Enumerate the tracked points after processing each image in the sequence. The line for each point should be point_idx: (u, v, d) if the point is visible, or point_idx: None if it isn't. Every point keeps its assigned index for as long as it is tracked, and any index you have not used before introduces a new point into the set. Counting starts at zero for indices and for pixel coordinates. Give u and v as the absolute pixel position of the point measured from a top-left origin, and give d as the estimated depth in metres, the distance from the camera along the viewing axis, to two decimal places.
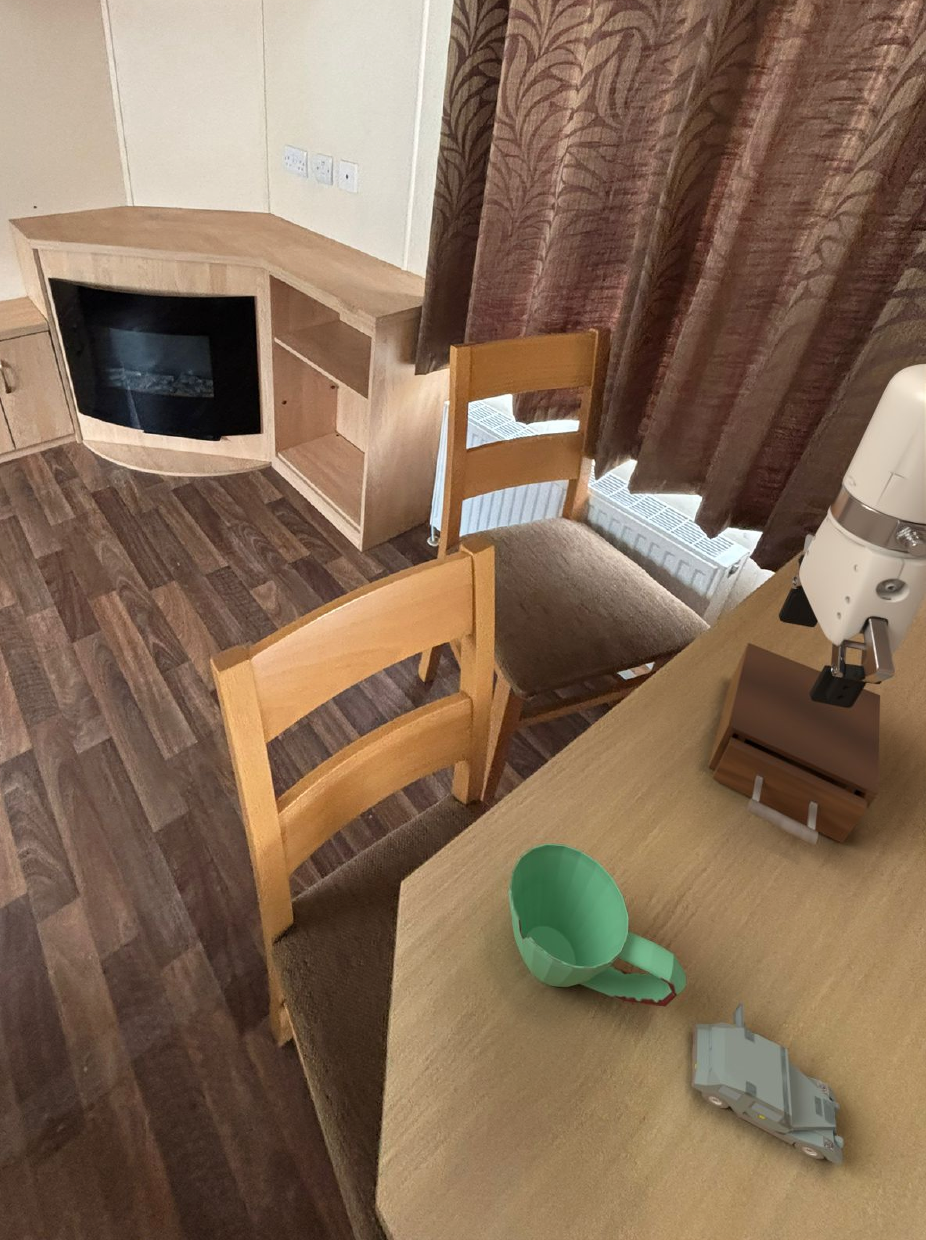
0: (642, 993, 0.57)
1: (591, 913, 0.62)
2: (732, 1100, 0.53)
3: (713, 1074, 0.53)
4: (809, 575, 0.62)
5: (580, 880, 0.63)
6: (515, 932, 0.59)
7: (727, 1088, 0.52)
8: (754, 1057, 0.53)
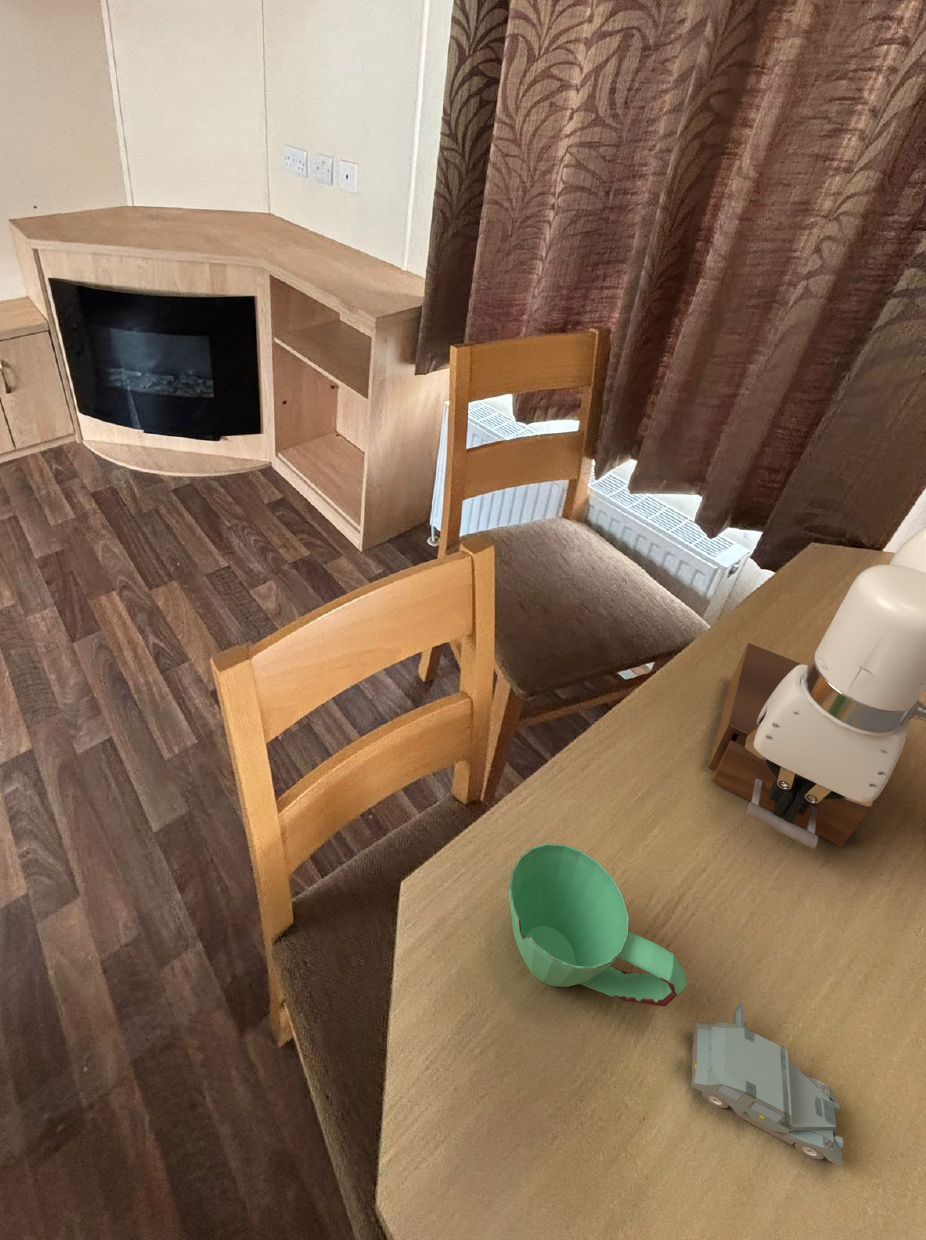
0: (642, 993, 0.57)
1: (591, 913, 0.62)
2: (732, 1100, 0.53)
3: (713, 1074, 0.53)
4: (791, 757, 0.65)
5: (580, 880, 0.63)
6: (515, 932, 0.59)
7: (727, 1088, 0.52)
8: (754, 1057, 0.53)
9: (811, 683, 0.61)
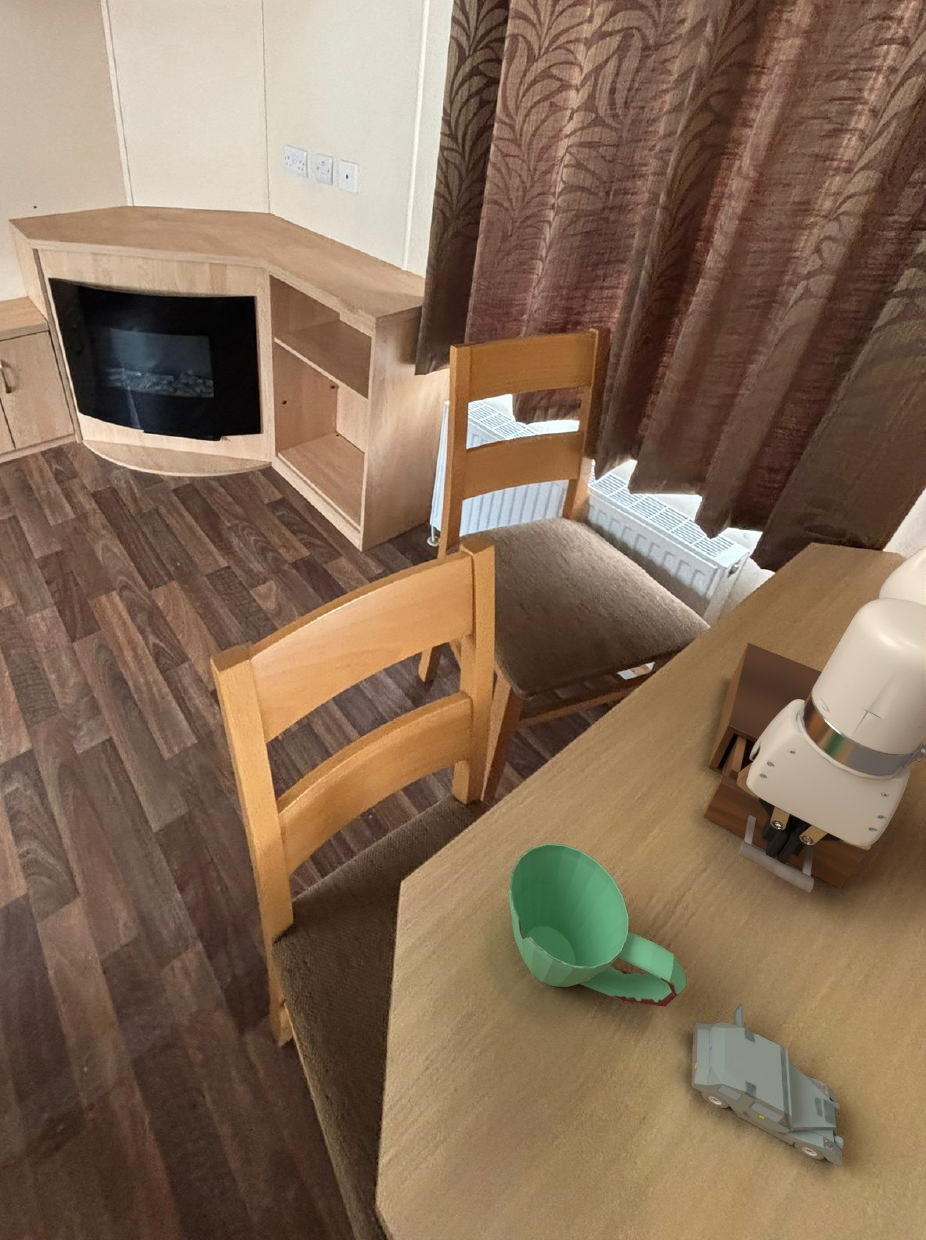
0: (642, 993, 0.57)
1: (591, 913, 0.62)
2: (732, 1100, 0.53)
3: (713, 1074, 0.53)
4: (786, 797, 0.61)
5: (580, 880, 0.63)
6: (515, 932, 0.59)
7: (727, 1088, 0.52)
8: (754, 1057, 0.53)
9: (808, 721, 0.58)
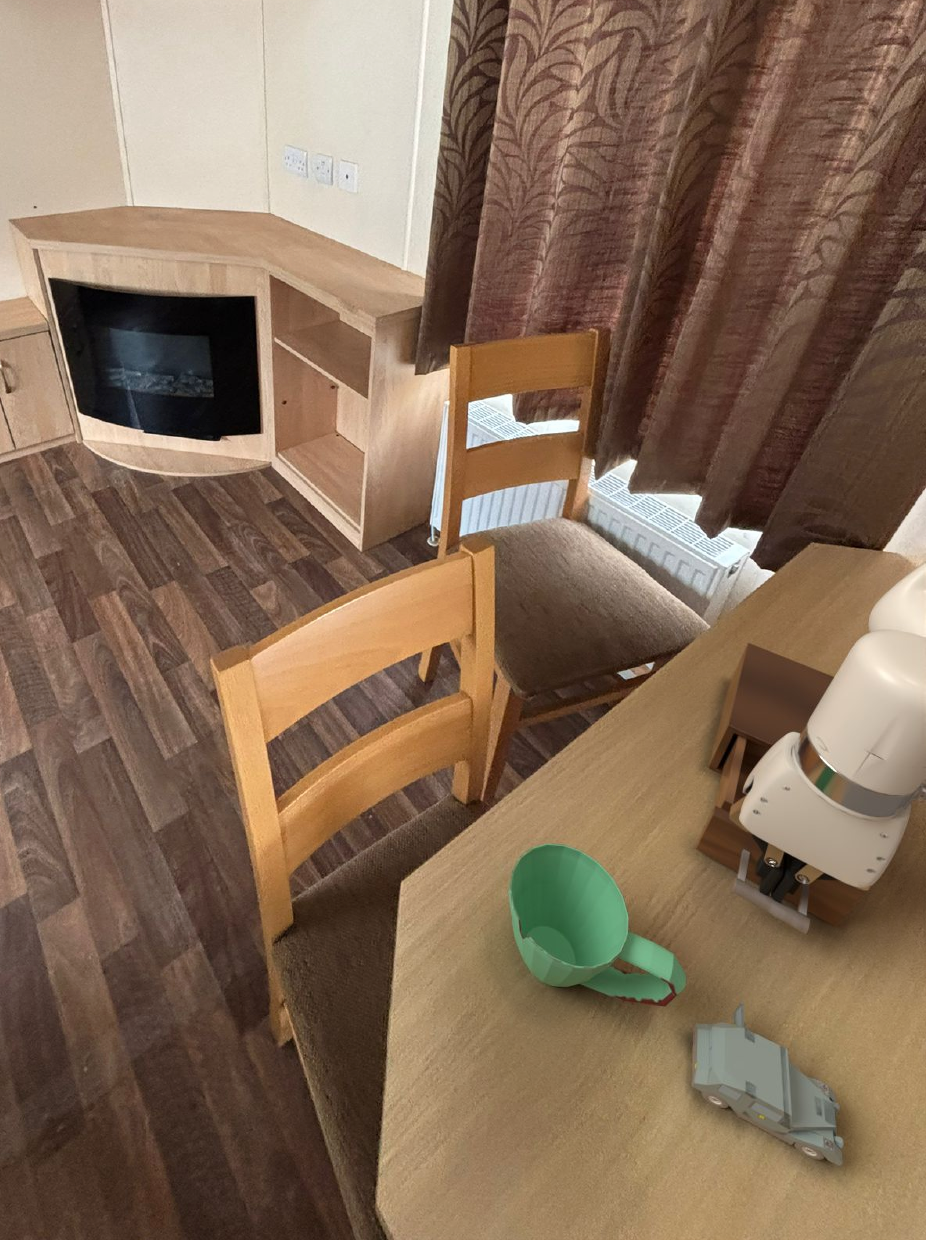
0: (642, 993, 0.57)
1: (591, 913, 0.62)
2: (732, 1100, 0.53)
3: (713, 1074, 0.53)
4: (780, 835, 0.59)
5: (580, 880, 0.63)
6: (515, 932, 0.59)
7: (727, 1088, 0.52)
8: (754, 1057, 0.53)
9: (803, 757, 0.55)
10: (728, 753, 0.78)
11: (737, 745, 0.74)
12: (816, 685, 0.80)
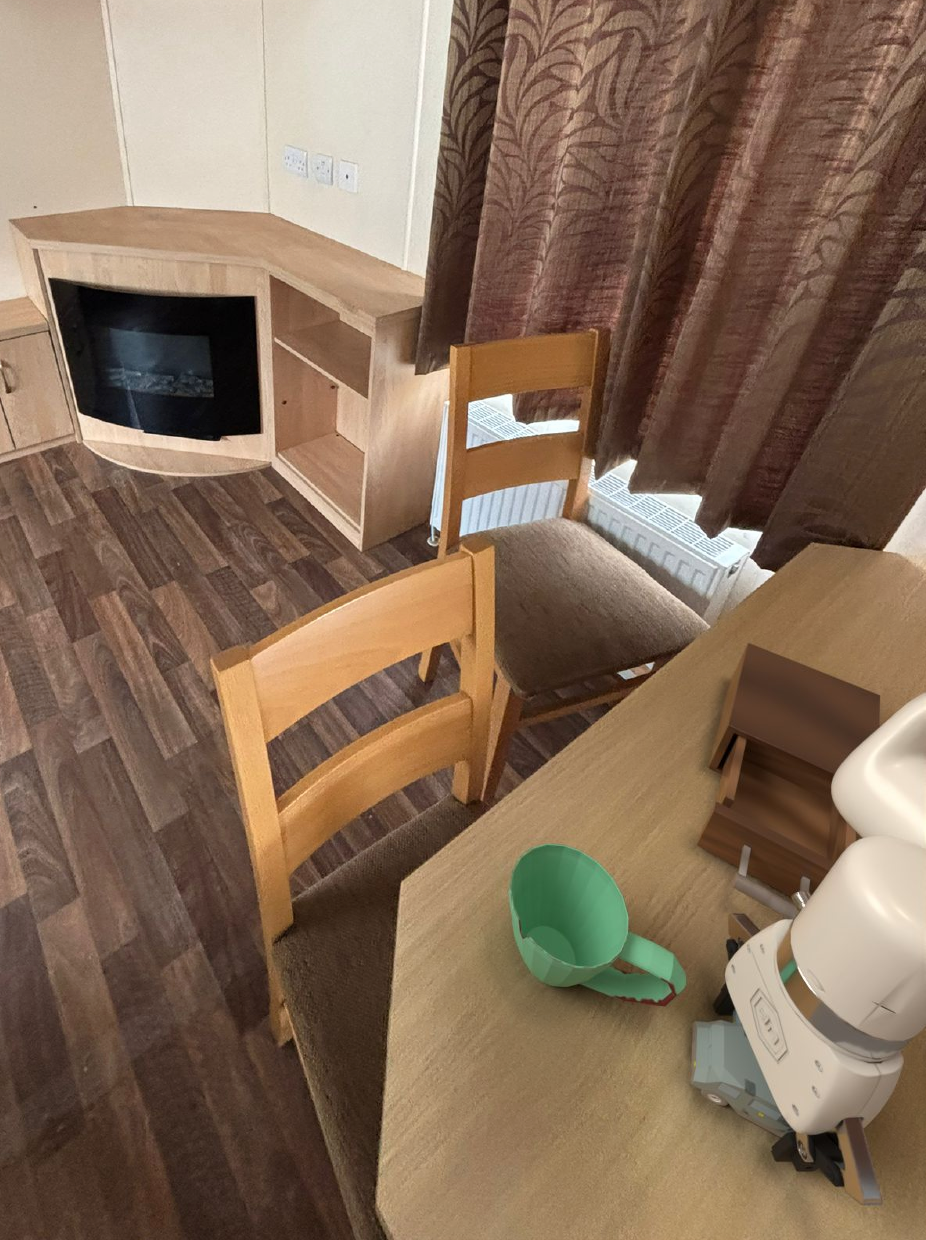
0: (642, 993, 0.57)
1: (591, 913, 0.62)
2: (731, 1098, 0.53)
3: (712, 1072, 0.53)
4: None
5: (580, 880, 0.63)
6: (515, 932, 0.59)
7: (726, 1086, 0.53)
8: (753, 1055, 0.53)
9: (906, 1043, 0.43)
10: (729, 750, 0.78)
11: (738, 742, 0.75)
12: (816, 685, 0.80)
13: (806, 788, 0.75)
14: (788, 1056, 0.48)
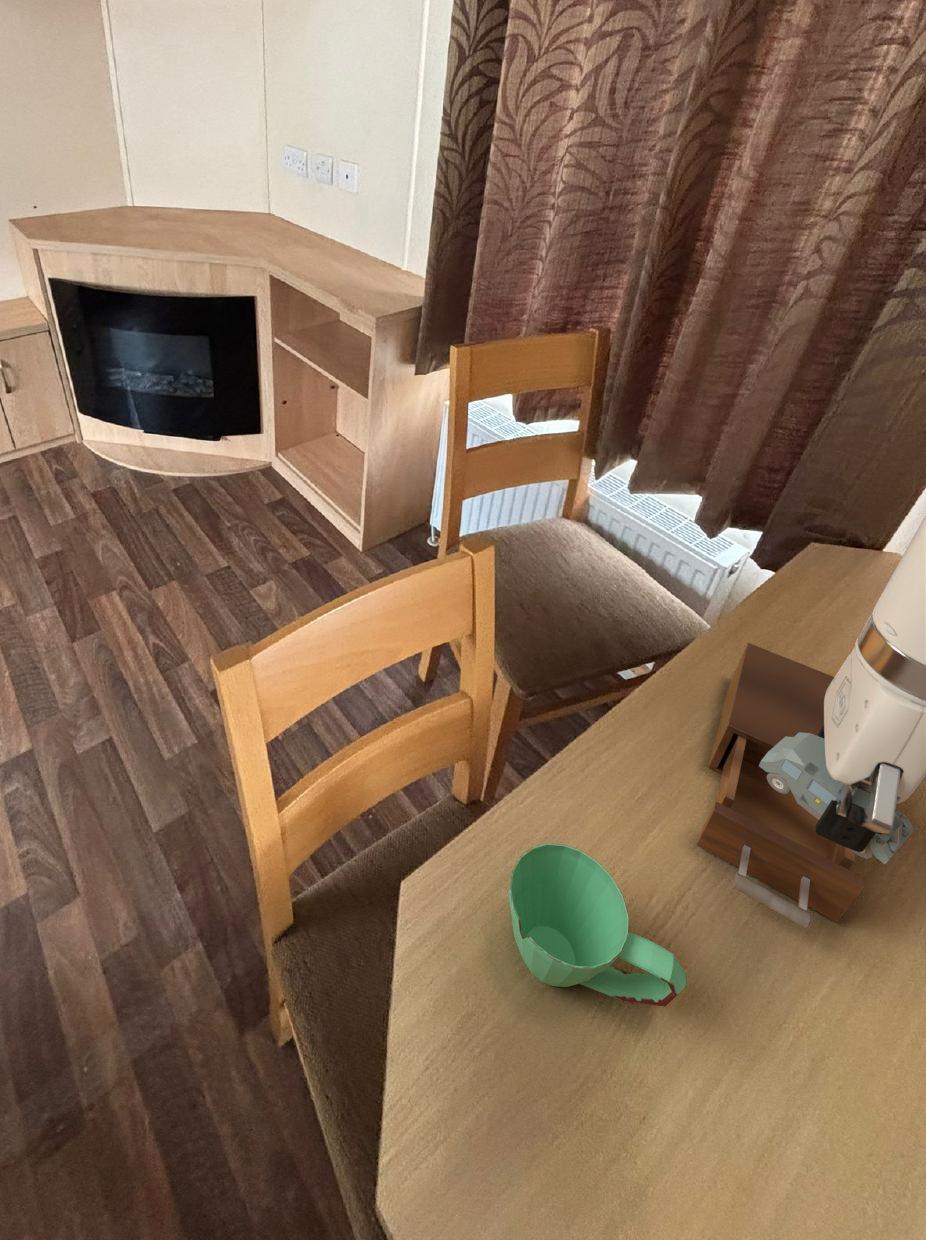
0: (642, 993, 0.57)
1: (591, 913, 0.62)
2: (792, 780, 0.58)
3: (780, 752, 0.59)
4: None
5: (580, 880, 0.63)
6: (515, 932, 0.59)
7: (789, 764, 0.58)
8: None
9: None
10: (729, 750, 0.78)
11: (738, 742, 0.75)
12: (816, 685, 0.80)
13: None
14: (847, 713, 0.53)
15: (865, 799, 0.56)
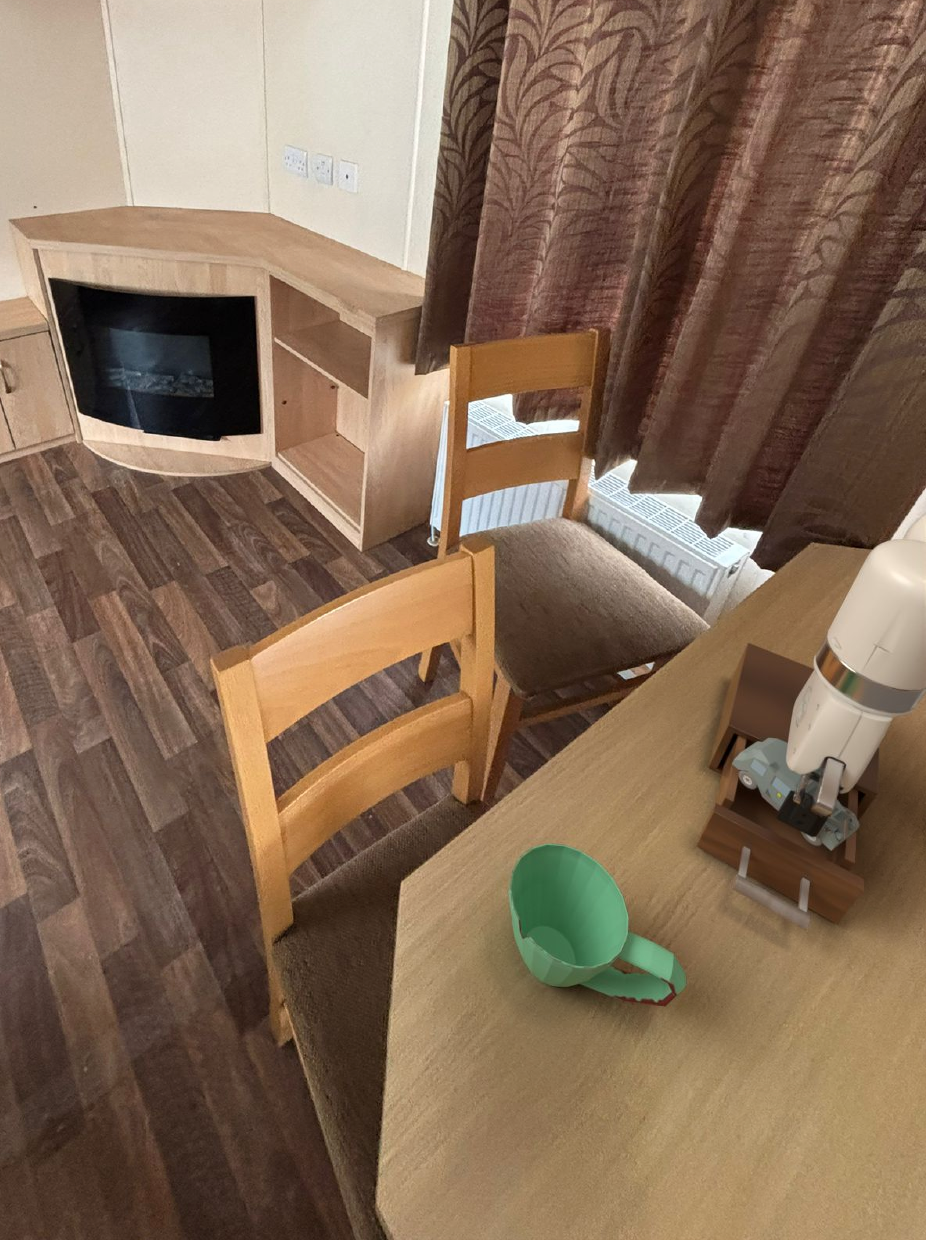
0: (642, 993, 0.57)
1: (591, 913, 0.62)
2: (759, 776, 0.68)
3: (750, 752, 0.69)
4: None
5: (580, 880, 0.63)
6: (515, 932, 0.59)
7: (757, 762, 0.68)
8: None
9: (895, 704, 0.56)
10: (729, 751, 0.78)
11: (737, 743, 0.74)
12: None
13: None
14: (804, 715, 0.62)
15: None
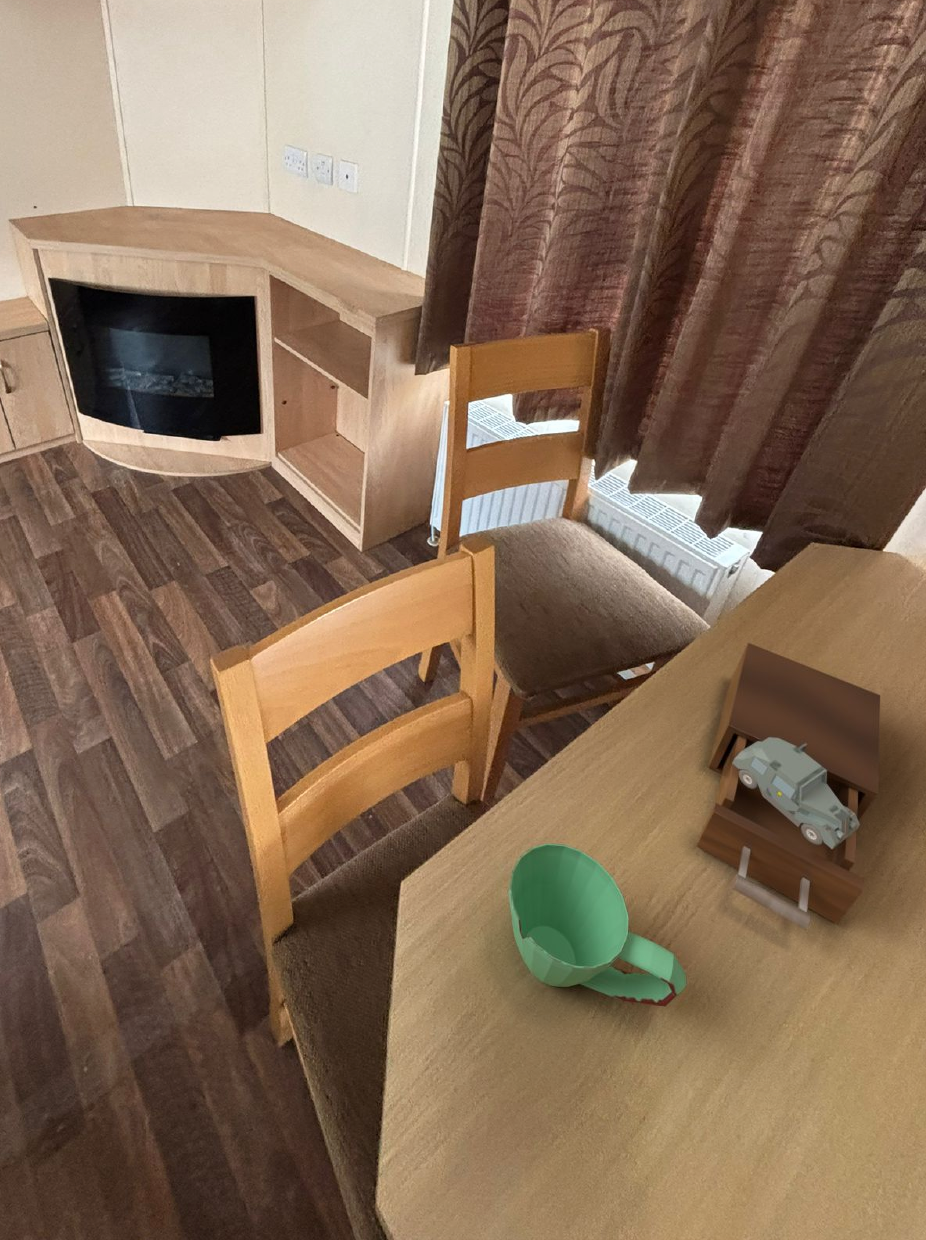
0: (642, 993, 0.57)
1: (591, 913, 0.62)
2: (760, 775, 0.68)
3: (751, 751, 0.69)
4: None
5: (580, 880, 0.63)
6: (515, 932, 0.59)
7: (758, 761, 0.68)
8: (792, 757, 0.68)
9: None
10: (729, 751, 0.78)
11: (738, 743, 0.74)
12: (816, 685, 0.80)
13: None
14: None
15: (820, 795, 0.66)
